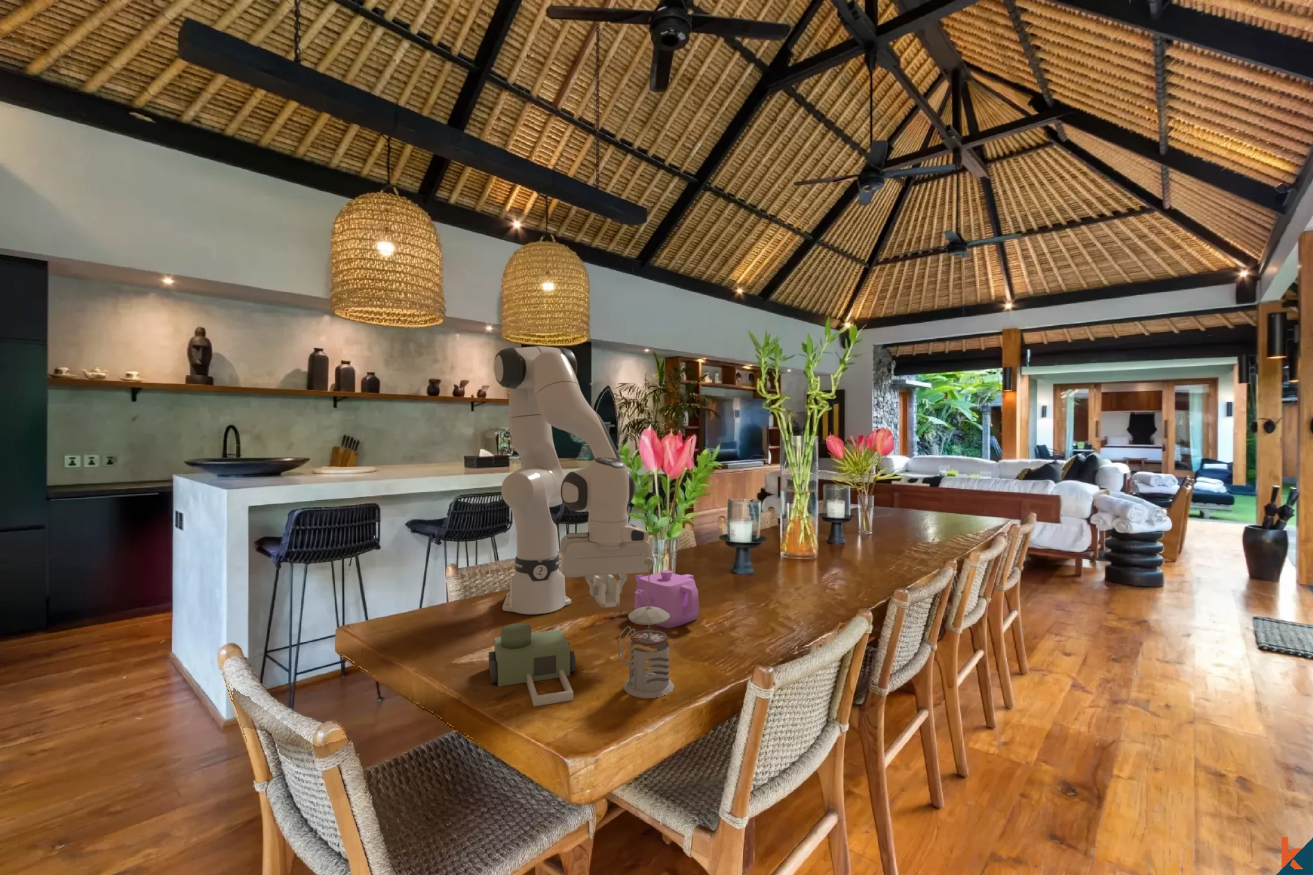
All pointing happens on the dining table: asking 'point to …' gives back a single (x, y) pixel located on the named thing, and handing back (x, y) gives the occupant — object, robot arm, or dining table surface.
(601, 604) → the slotted cream stand
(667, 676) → the french press
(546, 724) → the dining table surface
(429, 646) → the dining table surface
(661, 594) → the teakettle
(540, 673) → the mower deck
